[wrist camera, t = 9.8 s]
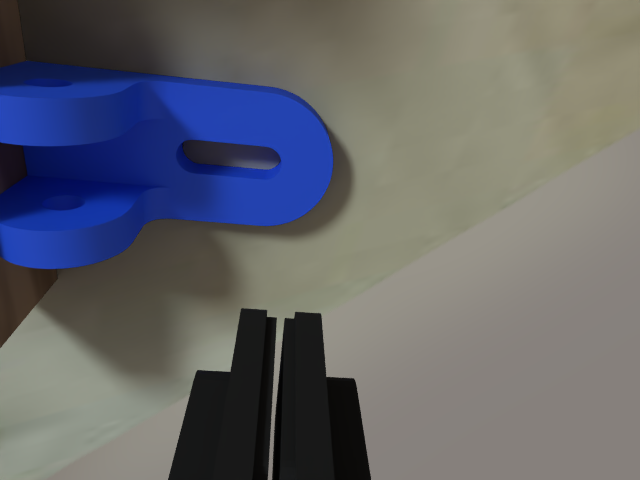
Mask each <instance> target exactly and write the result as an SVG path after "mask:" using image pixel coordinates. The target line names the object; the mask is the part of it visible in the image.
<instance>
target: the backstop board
mask: <svg viewBox="0 0 640 480" xmlns="http://www.w3.org/2000/svg"><path fill="white" fill-rule="evenodd" d="M24 61H26V56H25V49H24V43H23V36H22V29H21V22H20V15H19V8H18V1H17V0H0V68H1V67H5V66H8V65H12V64H16V63H20V62H24ZM26 176H27V169H26V162H25V156H24V150H23V145H15V144H7V143H1V142H0V194H1V193H3V192H4V191H6V190H7V189H9V188H10V187H11V186H13V185H14V184H16V183H17V182H19V181H20V180H22V179H23V178H25V177H26ZM57 279H58V278H57V271H56V269H40V268H30V267H24V266H20V265H16V264H13V263H10V262H8V261H6V260H4V259H3V258H1V257H0V348H1V347H2V345H3V344H4V343H5V342H6V341H7V339H8V338H9V337H10V336H11V334H12V333H13V332H14V331H15V330H16V328H17V327H18V326H19V325H20V324H21V322H22V321H23V320H24V319H25V318H26V316H27V315H28V314H29V313H30V311H31V310H32V309H33V308H34V307H35V305H36V304H37V303H38V302H39V301H40V299H41V298H42V297H43V296H44V294H45V293H46V292H47V291H48V290H49V288H50V287H51V286H52V285H53V284H54V282H55V281H56V280H57Z"/></svg>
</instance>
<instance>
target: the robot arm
mask: <svg viewBox="0 0 640 480" xmlns="http://www.w3.org/2000/svg"><path fill="white" fill-rule="evenodd" d="M276 322H277V318H275V317H267V310H258V309H243V308H242V309H241V313H240V319H239V325H238V330H237V336H236V342H235V348H234V354H233V360H232V366H231V372H222V371H203V370H197V372H196V375H195V378H194V381H193V385H192V389H191V393H190V397H189V401H188V405H187V409H186V413H185V416H184V420H183V424H182V428H181V432H180V436H179V440H178V443H177V447H176V451H175V455H174V459H173V463H172V467H171V471H170V474H169V478H168V480H268V465H269V448H270V447H269V446H270V429H271V412H272V393H273V376H274V358H275V340H276ZM274 432H275V433H274V452H273V474H272V480H371V476H370V470H369V463H368V457H367V451H366V444H365V437H364V431H363V425H362V418H361V412H360V405H359V399H358V393H357V387H356V382H355V380H354V379H353V378H335V377H326V367H325V355H324V343H323V330H322V318H321V314H320V313H305V312H295V317H294V319H291V318H285V321H284V331H283V341H282V351H281V362H280V373H279V383H278V393H277V404H276V415H275V430H274Z"/></svg>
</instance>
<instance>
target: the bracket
mask: <svg viewBox="0 0 640 480" xmlns="http://www.w3.org/2000/svg"><path fill="white" fill-rule="evenodd" d="M187 140H202V141H212V142H223V143H233V144H244V145H254V146H265V147H270V148H272V149H274V150H275V151H276V152H277V153H278V154H279V156H280V158H281V161H280V163H279V164H278V165H277V166H276V167H275V168H272V169H269V170H263V169H252V168H241V167H230V166H219V165H208V164H198V163H194V162H192V161H190V160H189V159H188V158H187V157H186V156H185V154H184V152H183V147H182V145H183V142H184V141H187ZM0 142H1V143H7V144H15V145H23V150H24V156H25V162H26V169H27V176H26V177H25V178H23V179H22V180H20V181H19V182H17V183H16V184H14V185H13V186H11V187H10V188H9V189H7V190H6V191H4V192H3V193H1V194H0V257H1V258H3V259H4V260H6V261H8V262H10V263H13V264H16V265H20V266H24V267H30V268H40V269H62V268H73V267H79V266H85V265H89V264H94V263H97V262H101V261H104V260H106V259H109V258H111V257H114V256H116V255H118V254H119V253H121V252H123V251H124V250H126V249H127V248H128V247H129V246H130V245H131V244H132V242H133V241H134V239H135V238H136V236H137V235H138V233H139V232H140V230H141V229H142V227H143V226H144V225H145V224H146V223H148V222H150V221H153V220H157V219H166V218H167V219H182V220H195V221H207V222H220V223H232V224H245V225H257V226H274V225H280V224H284V223H288V222H291V221H293V220H295V219H297V218H299V217H301V216H303V215H304V214H306V213H307V212H309V211H310V210H311V209H312V208H313V207H314V206H315V205H316V204H317V203H318V202H319V201H320V199H321V198H322V196H323V195H324V193H325V191H326V189H327V187H328V185H329V182H330V179H331V175H332V170H333V153H332V148H331V143H330V139H329V136H328V132H327V129H326V127H325V125H324V123H323V121H322V120H321V118H320V116H319V115H318V114H317V112H316V111H315V110H314V109H313V108H312V107H311V106H310V105H309V104H308V103H307V102H306V101H304V100H303V99H301V98H300V97H299V96H297V95H295V94H293V93H291V92H288V91H286V90H283V89H279V88H274V87H267V86H257V85H248V84H239V83H229V82H220V81H211V80H201V79H192V78H183V77H173V76H164V75H155V74H146V73H136V72H127V71H118V70H108V69H99V68H90V67H80V66H71V65H62V64H52V63H43V62H34V61H24V62H20V63H16V64H12V65H8V66H5V67H1V68H0Z"/></svg>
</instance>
